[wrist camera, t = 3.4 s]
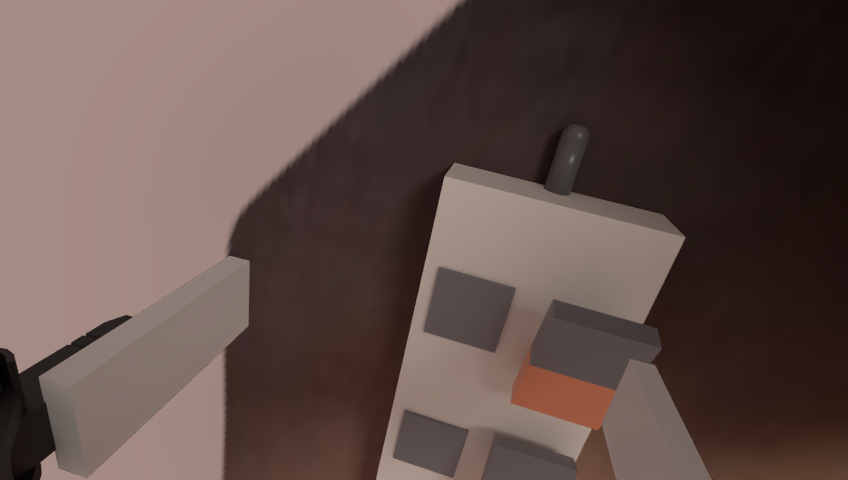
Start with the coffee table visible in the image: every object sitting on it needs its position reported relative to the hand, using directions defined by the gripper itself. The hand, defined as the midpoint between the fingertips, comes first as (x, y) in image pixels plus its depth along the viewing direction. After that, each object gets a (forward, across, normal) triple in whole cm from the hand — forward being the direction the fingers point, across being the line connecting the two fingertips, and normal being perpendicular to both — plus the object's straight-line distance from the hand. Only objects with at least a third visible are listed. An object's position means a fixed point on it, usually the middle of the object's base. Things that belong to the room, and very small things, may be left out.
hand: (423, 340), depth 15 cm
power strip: (+9, +4, -9) cm, 13 cm away
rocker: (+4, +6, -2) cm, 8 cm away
